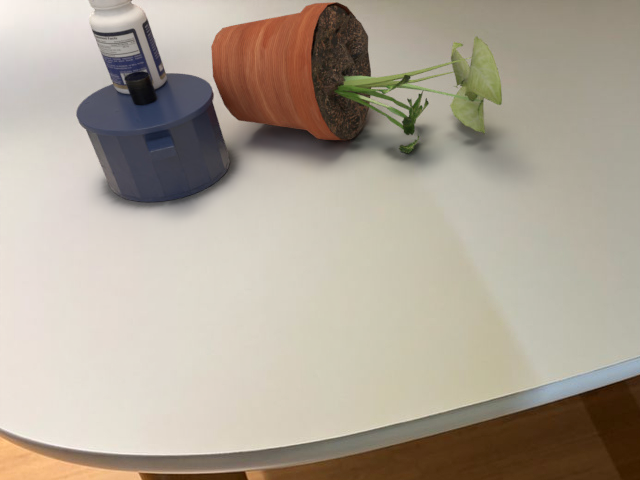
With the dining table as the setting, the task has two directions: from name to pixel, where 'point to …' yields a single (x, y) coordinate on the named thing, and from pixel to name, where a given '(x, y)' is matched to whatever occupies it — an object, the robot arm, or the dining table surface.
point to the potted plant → (331, 75)
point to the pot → (164, 160)
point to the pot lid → (145, 105)
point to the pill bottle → (126, 42)
